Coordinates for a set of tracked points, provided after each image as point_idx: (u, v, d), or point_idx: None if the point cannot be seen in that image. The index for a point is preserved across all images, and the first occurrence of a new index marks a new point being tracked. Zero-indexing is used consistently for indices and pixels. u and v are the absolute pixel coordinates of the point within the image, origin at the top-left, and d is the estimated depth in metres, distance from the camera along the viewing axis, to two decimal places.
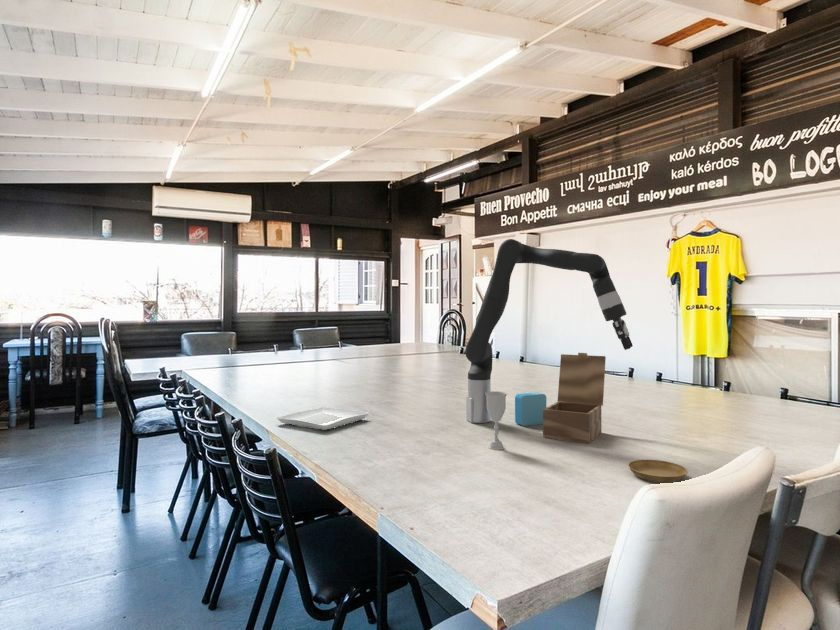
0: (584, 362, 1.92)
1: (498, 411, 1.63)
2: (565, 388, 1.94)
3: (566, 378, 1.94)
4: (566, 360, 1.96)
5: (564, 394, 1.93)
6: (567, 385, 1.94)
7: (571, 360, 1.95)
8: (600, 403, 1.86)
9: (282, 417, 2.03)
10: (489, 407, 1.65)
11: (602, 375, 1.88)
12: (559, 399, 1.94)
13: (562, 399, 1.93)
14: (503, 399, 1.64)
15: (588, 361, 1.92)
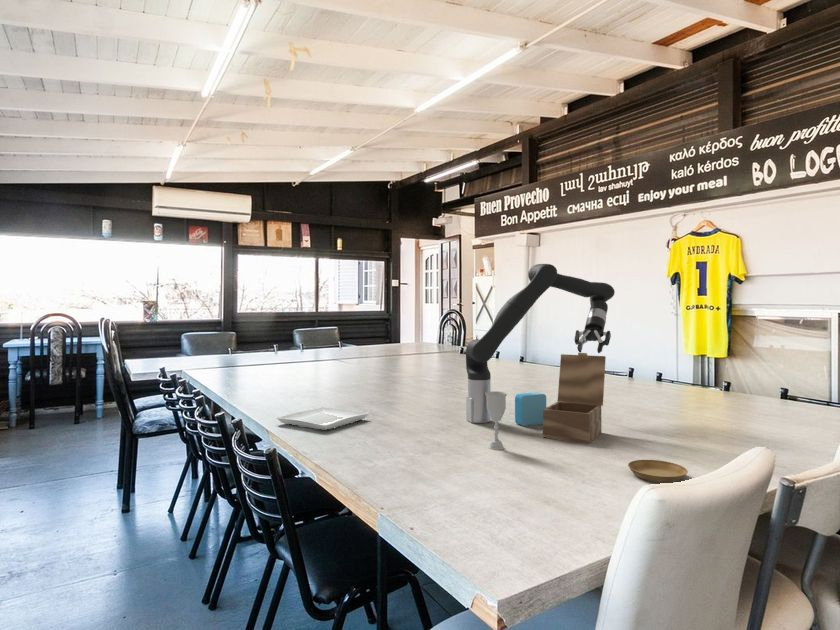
0: (584, 362, 1.92)
1: (498, 411, 1.63)
2: (565, 388, 1.94)
3: (566, 378, 1.94)
4: (566, 360, 1.96)
5: (564, 394, 1.93)
6: (567, 385, 1.94)
7: (571, 360, 1.95)
8: (600, 403, 1.86)
9: (282, 417, 2.03)
10: (489, 407, 1.65)
11: (602, 375, 1.88)
12: (559, 399, 1.94)
13: (562, 399, 1.93)
14: (503, 399, 1.64)
15: (588, 361, 1.92)
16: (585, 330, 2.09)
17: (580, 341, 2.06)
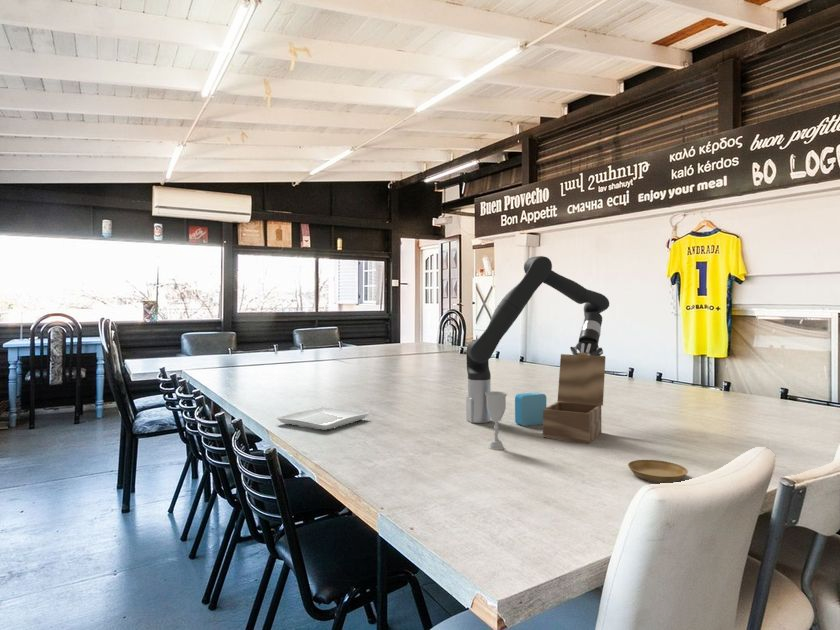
0: (584, 362, 1.92)
1: (498, 411, 1.63)
2: (565, 388, 1.94)
3: (566, 378, 1.94)
4: (566, 360, 1.96)
5: (564, 394, 1.93)
6: (567, 385, 1.94)
7: (571, 360, 1.95)
8: (600, 403, 1.86)
9: (282, 417, 2.03)
10: (489, 407, 1.65)
11: (602, 375, 1.88)
12: (559, 399, 1.94)
13: (562, 399, 1.93)
14: (503, 399, 1.64)
15: (588, 361, 1.92)
16: (578, 343, 2.02)
17: None
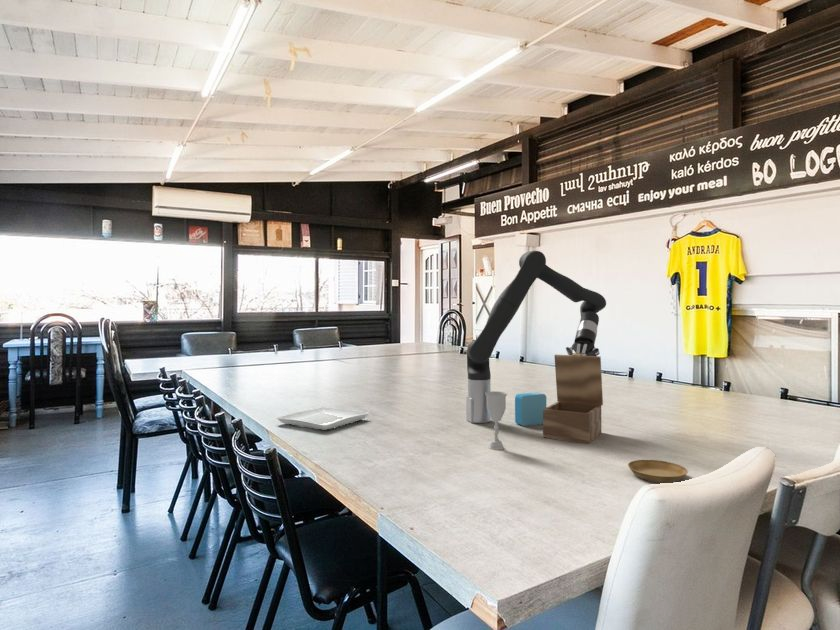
0: (579, 363, 1.86)
1: (498, 411, 1.63)
2: (563, 389, 1.92)
3: (563, 379, 1.91)
4: (560, 361, 1.90)
5: (563, 394, 1.92)
6: (565, 386, 1.91)
7: (566, 361, 1.89)
8: (600, 403, 1.85)
9: (282, 417, 2.03)
10: (489, 407, 1.65)
11: (599, 376, 1.83)
12: (559, 399, 1.94)
13: (562, 399, 1.93)
14: (503, 399, 1.64)
15: (583, 362, 1.85)
16: (574, 344, 1.96)
17: None
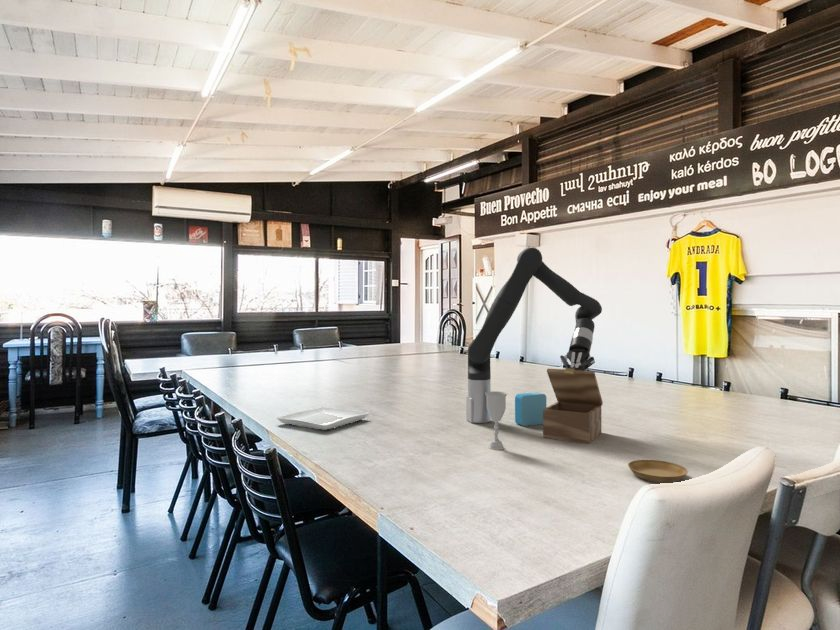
0: (573, 377, 1.80)
1: (498, 411, 1.63)
2: (561, 394, 1.90)
3: (559, 387, 1.87)
4: (554, 375, 1.83)
5: (562, 397, 1.91)
6: (562, 391, 1.88)
7: (559, 375, 1.82)
8: (600, 404, 1.85)
9: (282, 417, 2.03)
10: (489, 407, 1.65)
11: (595, 386, 1.79)
12: (558, 400, 1.93)
13: (561, 400, 1.93)
14: (503, 399, 1.64)
15: (577, 377, 1.79)
16: (569, 352, 1.90)
17: (573, 366, 1.84)
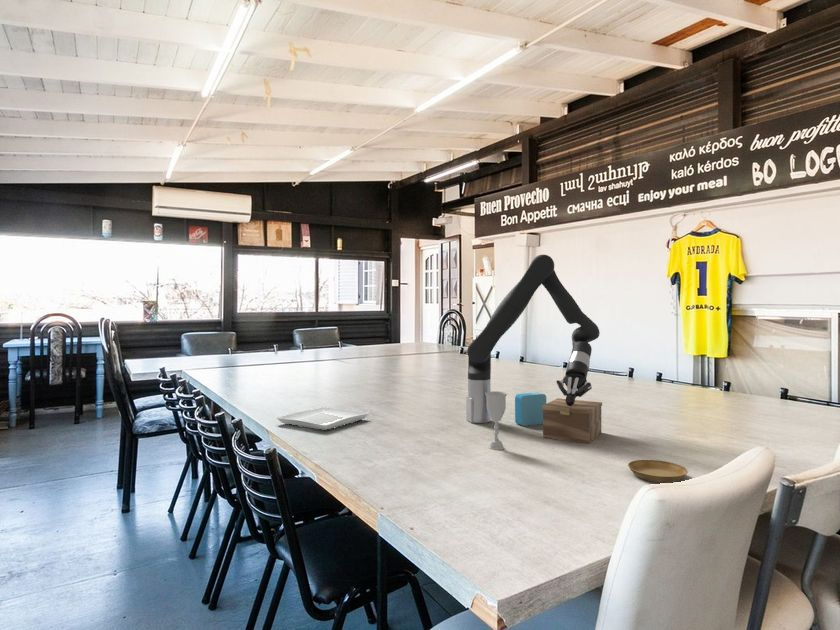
0: None
1: (498, 411, 1.63)
2: None
3: None
4: None
5: None
6: None
7: None
8: None
9: (282, 417, 2.03)
10: (489, 407, 1.65)
11: None
12: None
13: None
14: (503, 399, 1.64)
15: None
16: (565, 377, 1.86)
17: (569, 392, 1.80)
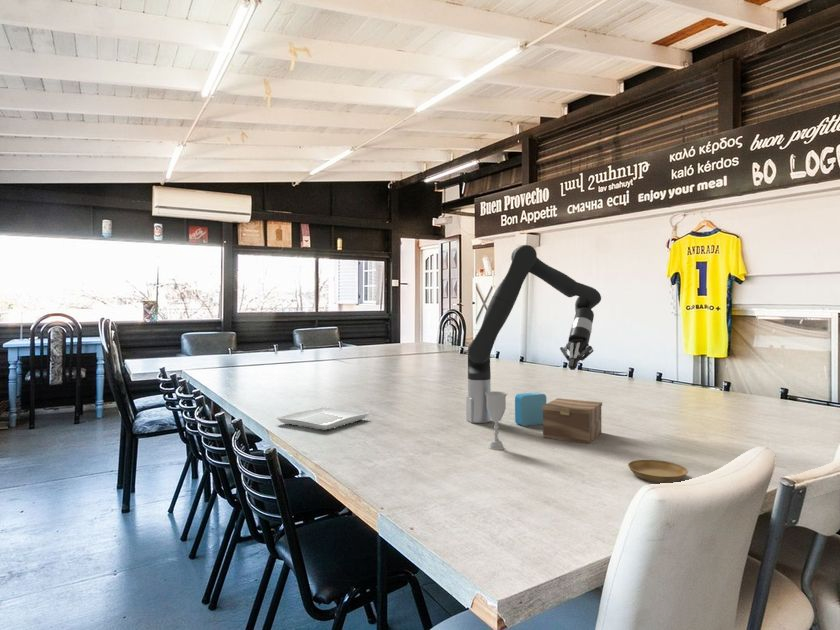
0: None
1: (498, 411, 1.63)
2: None
3: None
4: None
5: None
6: None
7: None
8: None
9: (282, 417, 2.03)
10: (489, 407, 1.65)
11: (593, 410, 1.76)
12: None
13: None
14: (503, 399, 1.64)
15: None
16: (568, 343, 1.93)
17: (571, 357, 1.87)
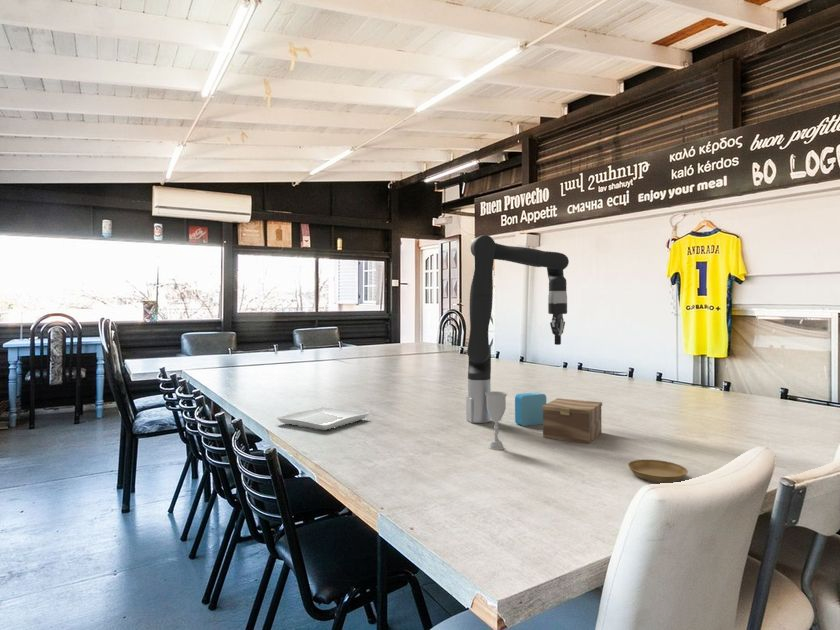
0: None
1: (498, 411, 1.63)
2: None
3: None
4: None
5: None
6: None
7: None
8: None
9: (282, 417, 2.03)
10: (489, 407, 1.65)
11: (593, 410, 1.76)
12: None
13: None
14: (503, 399, 1.64)
15: None
16: None
17: None
